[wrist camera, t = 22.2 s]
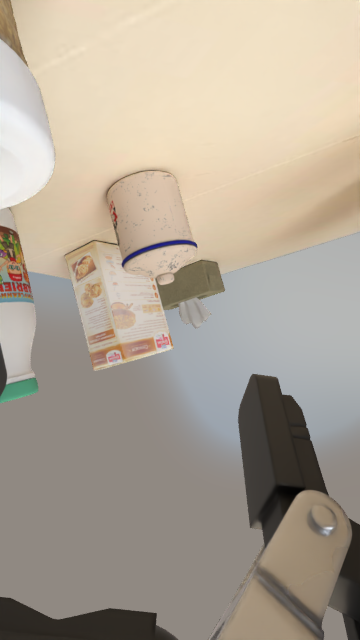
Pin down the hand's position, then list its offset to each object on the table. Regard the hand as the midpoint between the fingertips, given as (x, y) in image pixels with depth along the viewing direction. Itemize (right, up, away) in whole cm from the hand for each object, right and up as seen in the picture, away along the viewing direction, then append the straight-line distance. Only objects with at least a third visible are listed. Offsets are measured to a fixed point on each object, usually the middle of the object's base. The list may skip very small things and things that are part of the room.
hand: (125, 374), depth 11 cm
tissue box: (+2, +15, +82) cm, 83 cm away
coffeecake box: (-11, +14, +49) cm, 52 cm away
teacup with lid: (-2, +17, +31) cm, 36 cm away
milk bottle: (-20, +13, +25) cm, 35 cm away
